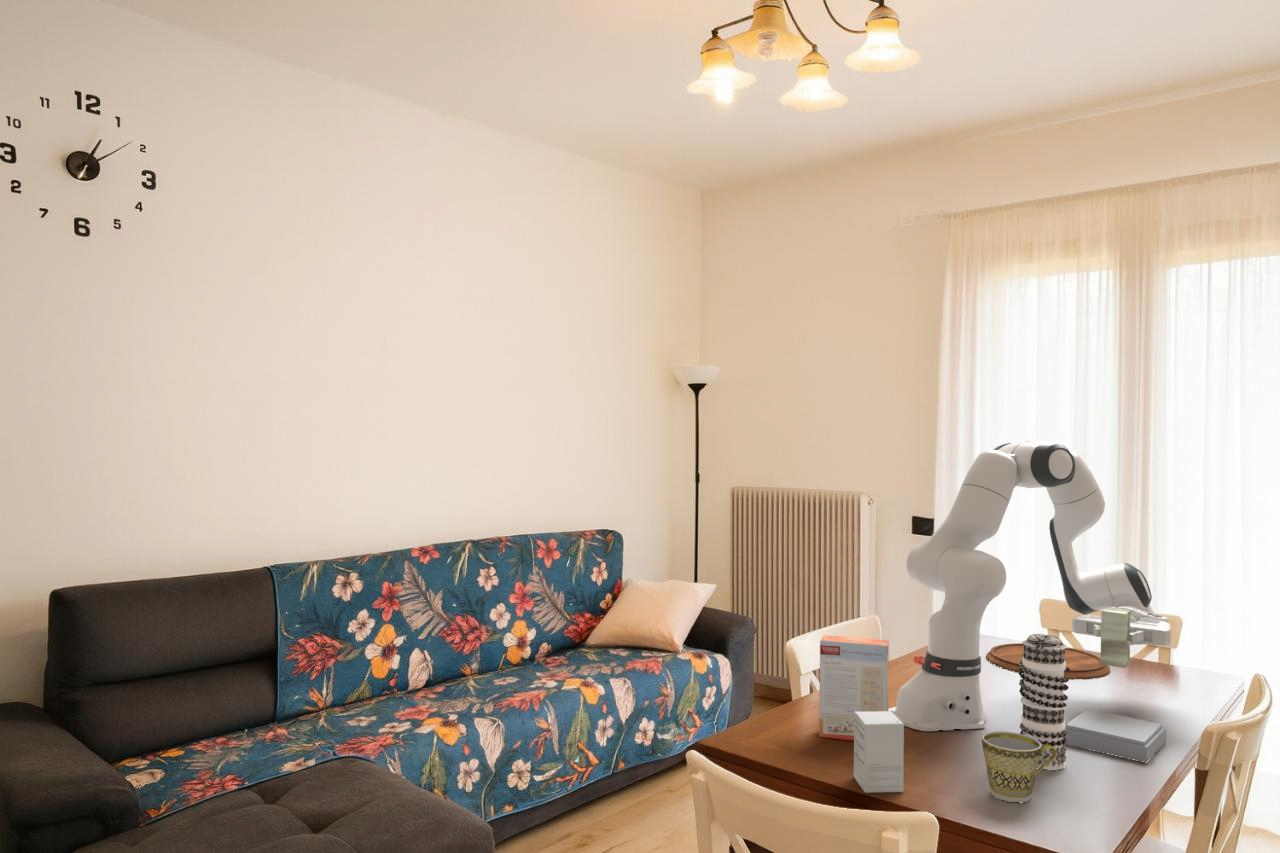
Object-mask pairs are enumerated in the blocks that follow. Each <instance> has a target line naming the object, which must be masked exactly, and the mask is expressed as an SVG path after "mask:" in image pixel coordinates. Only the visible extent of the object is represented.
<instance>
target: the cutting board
mask: <svg viewBox="0 0 1280 853" xmlns="http://www.w3.org/2000/svg"><path fill="white" fill-rule="evenodd" d="M1023 649H1024V644H1023V643H1022V642H1019V643H1004V644H998V645H995V646H993V647H992V648H990V650H989V651H988V652H987V653H986V656H985V658H987V659H986V660H989V661H990V662H991V663H993V664H995V665H997V666H999V667H998V668H1000V667H1002V668H1001V669H1003V668H1005V669H1008V670H1007V671H1009V670H1011V671H1010V672H1012V671H1015V672H1014V673H1017V672H1020V669H1021V668H1019V666H1018V665H1019V662H1020V661H1022V658H1023V656H1024V653H1023ZM989 661H988V662H989ZM1065 661H1066V667H1068V668H1070V671H1067V672H1066V671H1064V676H1066V677H1068V678H1069V680H1070V679H1071V680H1073V679H1083V680H1094V679H1093V678H1095V679H1099V678H1104V677H1107V676H1109V675H1110V673H1111V666H1109V665H1103V664H1101V656H1100V655H1099V656H1098V655H1096V654H1094V653H1091V652H1088V651H1085V650H1080V649H1076V648H1072V647H1067V648H1065ZM990 662H989V663H990ZM991 663H990V664H991ZM993 664H992V665H993ZM995 665H994V666H995ZM997 666H996V667H997ZM1005 669H1004V670H1005ZM1071 680H1070V681H1071ZM1073 681H1074V680H1073Z"/></svg>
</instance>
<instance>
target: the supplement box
mask: <svg viewBox="0 0 1280 853" xmlns="http://www.w3.org/2000/svg"><path fill="white" fill-rule="evenodd" d="M904 731H905V726H904V724H903V723H902V722H901V721H900V720H899V719H898V718H897V717H896V716H895V715H894V714H893V713H892V712H891V711H879V712H854V741H853V777H854V779H855V781H856V782H857V784H858V785H859V786H860V788H861V789H862V791H863V792H864V793H865V794H867V793H903V792H904V766H905V764H904V762H905V761H904V758H905V757H904V754H905V752H904V750H905V748H904V747H905V736H904V735H905V732H904Z"/></svg>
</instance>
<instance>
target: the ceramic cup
mask: <svg viewBox="0 0 1280 853" xmlns="http://www.w3.org/2000/svg"><path fill="white" fill-rule="evenodd" d="M981 745H982V752H983V757H984V760H985V767H986V774H987V778H988V779H987V780H988V786H989V787H988V788H989V792H990V794H991V793H992V794H993V795H994V796H993V795H992V794H991V795H992V796H993V797H994V798H995V797H996V798H999V799H1002V800H1005V801H1004V802H1006V801H1008V802H1007V803H1009V802H1026V803H1028V802H1029V801H1031V800H1032V798H1033V793H1034V786H1035V781H1036V777H1037V775H1038V773H1039V772H1041V771H1043V770H1042V769H1043V768H1044V767H1045V766H1046V765H1047V764H1049V763H1050V762H1052V761H1053V760H1054V759H1055V757H1056V750H1055V748H1054V747H1053V746H1051V745H1047V744H1045V745H1042V744H1041V743H1040V742H1039V741H1038V740H1036V739H1034V738H1032V737H1030V736H1027V735H1023V734H1020V732H1013V731H1003V730H1002V731H999V730H997V731H989V732H986V733H983V735H982V736H981ZM1049 748H1051V749H1053V751H1054V755H1053V757H1052V758H1051V759H1049V760H1048V761H1046V762H1045V763H1044V764H1042V766H1041V767H1040V768H1038V764H1039V759H1040V755H1041V753H1042V751H1044V750H1046V749H1049ZM1037 768H1038V769H1037ZM996 798H995V799H996ZM999 799H998V800H999ZM1030 799H1031V800H1030ZM1002 800H1001V801H1002ZM1028 800H1029V801H1028ZM1027 801H1028V802H1027Z"/></svg>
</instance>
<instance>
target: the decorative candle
mask: <svg viewBox="0 0 1280 853" xmlns="http://www.w3.org/2000/svg"><path fill="white" fill-rule="evenodd" d="M1021 643H1023V644H1024V649H1023V653H1024V656H1023V658H1022V661H1020V662H1019V665H1018V666H1019V668H1021V669H1020V672H1019V673H1018V675H1019V677H1020V678H1021V679H1019V682H1018V684H1019V686H1020V688H1019V690H1018V691H1019V693H1020V696H1021V697H1020V703H1021V704H1022V714H1021V723H1020V725H1019V728H1020V730H1021V731H1020V732H1019V734H1023V735H1027V736H1030V737H1032V738H1034V739H1036V740H1038V741H1039V742H1040V743H1041V744H1042V745H1045V744H1047V745H1051V746H1053V747H1054V748H1055V750H1056V757H1055V759H1054V760H1053V761H1052V762H1050V763H1049V764H1047V765H1046V766H1045V767H1044V768H1043V769H1046V770H1045V771H1051V770H1056V769H1062V768H1064V767H1065V766H1067V765H1066V764H1067V763H1066V761H1067V758H1068V757H1067V756H1066V753H1067V751H1068V749H1067V747H1066V744H1065V743H1066V741H1067V740H1066V739H1065V737H1064V736H1065V735H1066V734H1067V731H1066V730H1065V726H1066V720H1065V710H1066V709H1067V707H1068V706H1067V705H1068V704H1067V702H1065V701H1067V700H1068V699H1069V698H1068V697H1069V696H1068V695H1067V694H1065V691H1067V690H1069V685H1067V683H1068V682H1069V681H1070V679H1069V678H1068V677H1066V676H1064V671H1066V672H1067V671H1070V668H1068V667H1066V661H1065V648H1068V646H1067V645H1066V644H1064V642H1063V641H1062V639H1061V638H1059V637H1057V636H1056V635H1052V634H1051V635H1050V634H1045V633H1033V634H1030V635H1029V636H1028V637H1027V639H1026V640H1022V642H1021ZM1022 673H1023V674H1022ZM1053 755H1054V751H1053V749H1051V748H1049V749H1046V750H1044V751H1042V753H1041V755H1040V759H1039V764H1038V768H1040V767H1041V766H1042V764H1044V763H1045V762H1046V761H1048V760H1049V759H1051V758H1052V757H1053ZM1065 768H1066V767H1065ZM1065 768H1064V769H1065ZM1047 769H1048V770H1047ZM1062 770H1063V769H1062ZM1056 771H1057V770H1056Z"/></svg>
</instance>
